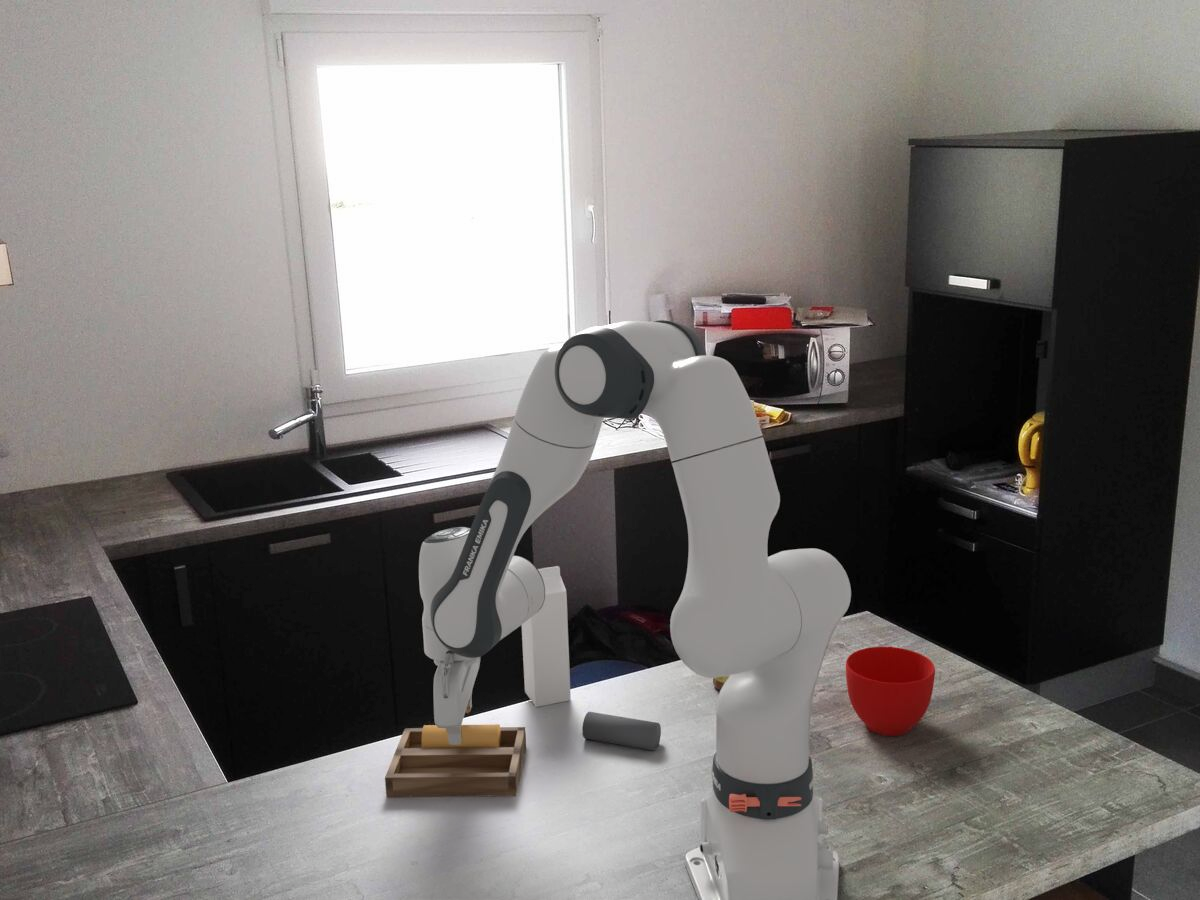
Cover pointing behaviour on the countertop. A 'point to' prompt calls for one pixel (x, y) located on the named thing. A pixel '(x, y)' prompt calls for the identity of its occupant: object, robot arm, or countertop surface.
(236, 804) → the countertop surface
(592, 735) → the charcoal rod
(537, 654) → the milk
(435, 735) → the orange rod
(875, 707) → the ceramic cup
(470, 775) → the slot rack
